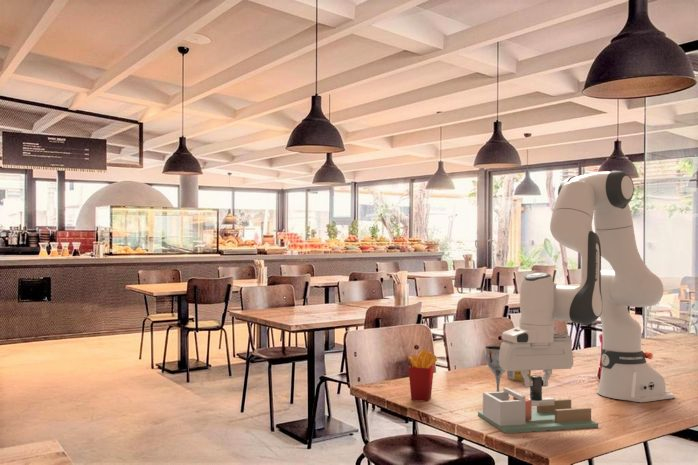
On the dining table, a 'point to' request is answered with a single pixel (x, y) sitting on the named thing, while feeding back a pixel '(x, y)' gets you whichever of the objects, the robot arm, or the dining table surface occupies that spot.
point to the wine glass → (494, 362)
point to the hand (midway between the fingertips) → (536, 386)
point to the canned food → (516, 375)
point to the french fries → (421, 375)
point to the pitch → (544, 418)
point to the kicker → (535, 397)
